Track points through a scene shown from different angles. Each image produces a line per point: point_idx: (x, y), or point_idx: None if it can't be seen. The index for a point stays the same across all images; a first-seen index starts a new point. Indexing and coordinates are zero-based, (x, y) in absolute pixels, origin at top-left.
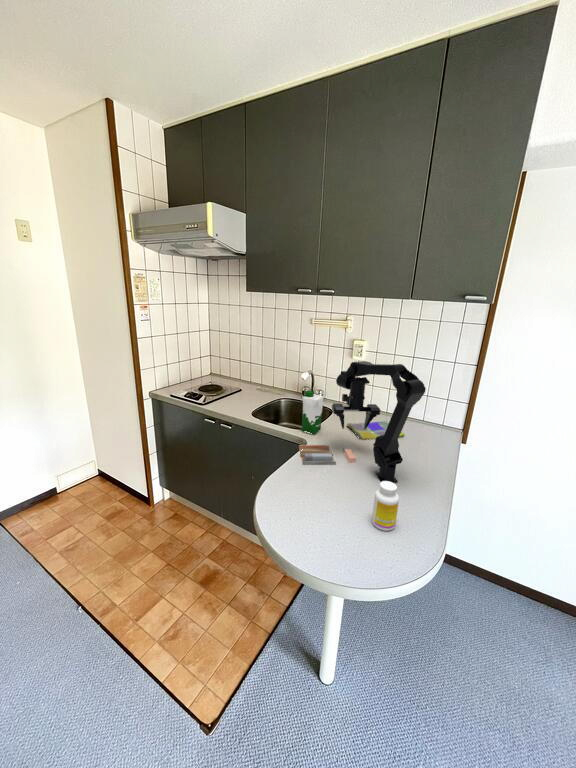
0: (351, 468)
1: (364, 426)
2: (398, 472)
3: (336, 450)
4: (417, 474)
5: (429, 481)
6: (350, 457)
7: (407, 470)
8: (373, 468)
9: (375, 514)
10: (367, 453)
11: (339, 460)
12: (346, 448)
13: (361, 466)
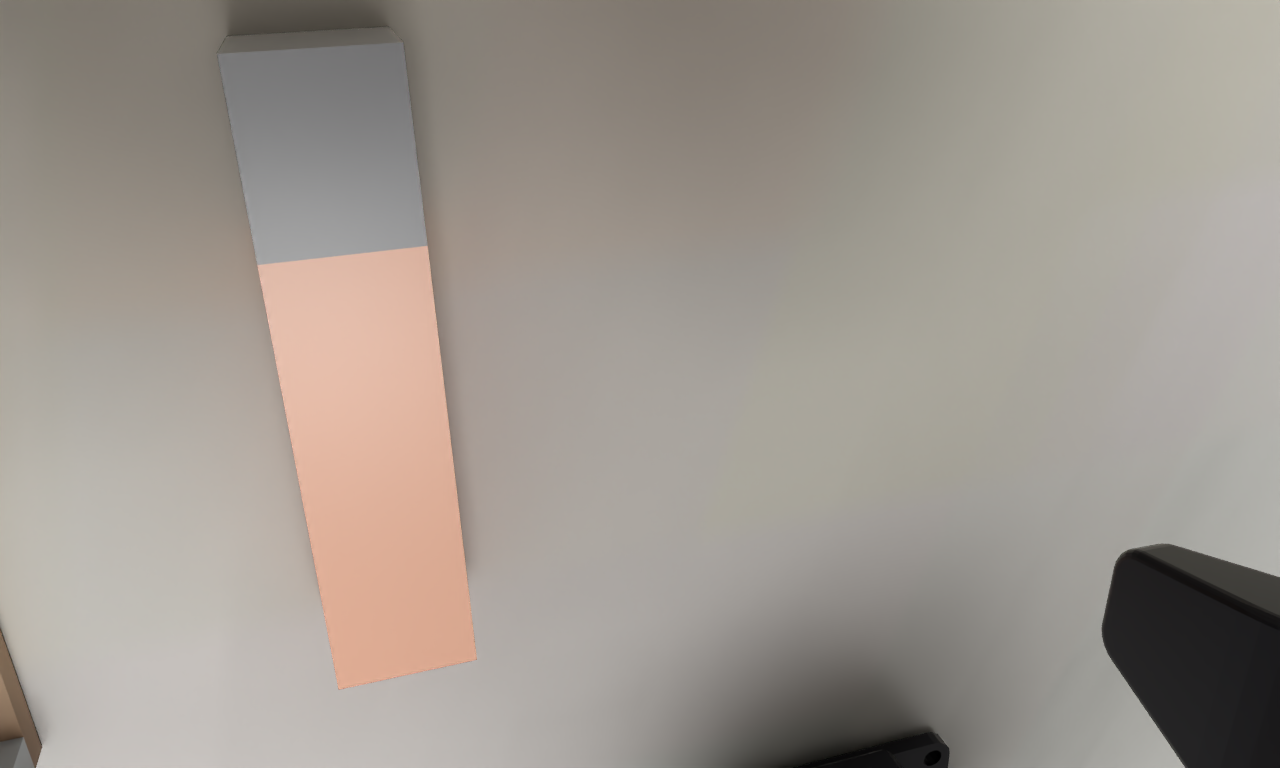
0: (365, 741)
1: (1196, 634)
2: (1047, 672)
3: (46, 20)
4: None
5: None
6: (368, 655)
7: None
8: (744, 654)
9: None
10: (826, 127)
11: (132, 523)
12: (320, 232)
13: (561, 642)
